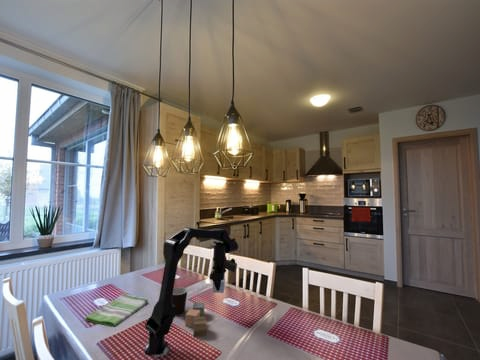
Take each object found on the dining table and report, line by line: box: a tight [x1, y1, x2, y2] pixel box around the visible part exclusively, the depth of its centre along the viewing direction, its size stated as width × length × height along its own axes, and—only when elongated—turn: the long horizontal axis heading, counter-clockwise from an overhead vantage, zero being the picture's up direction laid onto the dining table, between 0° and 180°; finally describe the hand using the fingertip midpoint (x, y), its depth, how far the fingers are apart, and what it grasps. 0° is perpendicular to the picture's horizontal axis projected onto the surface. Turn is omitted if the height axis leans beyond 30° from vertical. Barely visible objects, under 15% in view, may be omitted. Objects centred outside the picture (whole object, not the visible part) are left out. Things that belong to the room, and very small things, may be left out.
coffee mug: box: [172, 286, 188, 316], centre depth 114 cm, size 12×9×10 cm
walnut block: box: [192, 316, 207, 337], centre depth 96 cm, size 5×5×5 cm
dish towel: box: [84, 293, 149, 327], centre depth 112 cm, size 17×23×4 cm
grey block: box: [192, 301, 205, 317], centre depth 109 cm, size 5×5×5 cm
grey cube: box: [212, 277, 226, 294], centre depth 109 cm, size 5×5×5 cm
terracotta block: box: [184, 308, 200, 328], centre depth 102 cm, size 5×5×5 cm
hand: (218, 288), depth 109 cm, fingers closed on grey cube, 5 cm apart
